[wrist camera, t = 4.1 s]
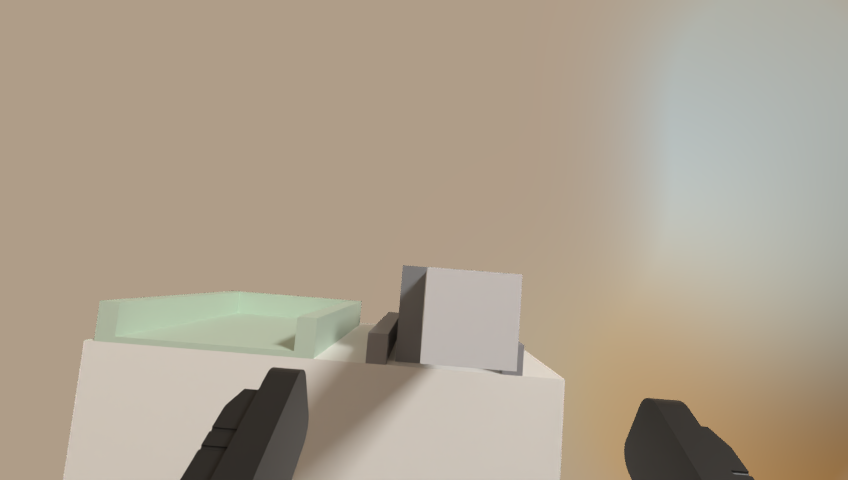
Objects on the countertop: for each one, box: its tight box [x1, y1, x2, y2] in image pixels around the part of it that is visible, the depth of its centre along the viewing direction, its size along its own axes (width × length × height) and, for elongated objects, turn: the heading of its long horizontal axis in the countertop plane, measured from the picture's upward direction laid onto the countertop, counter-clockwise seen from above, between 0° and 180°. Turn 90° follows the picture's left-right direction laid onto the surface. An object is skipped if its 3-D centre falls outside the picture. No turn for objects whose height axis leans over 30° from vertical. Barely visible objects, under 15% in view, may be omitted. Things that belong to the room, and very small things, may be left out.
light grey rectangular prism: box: [395, 265, 522, 372], centre depth 21 cm, size 21×5×5 cm, turn 0°
